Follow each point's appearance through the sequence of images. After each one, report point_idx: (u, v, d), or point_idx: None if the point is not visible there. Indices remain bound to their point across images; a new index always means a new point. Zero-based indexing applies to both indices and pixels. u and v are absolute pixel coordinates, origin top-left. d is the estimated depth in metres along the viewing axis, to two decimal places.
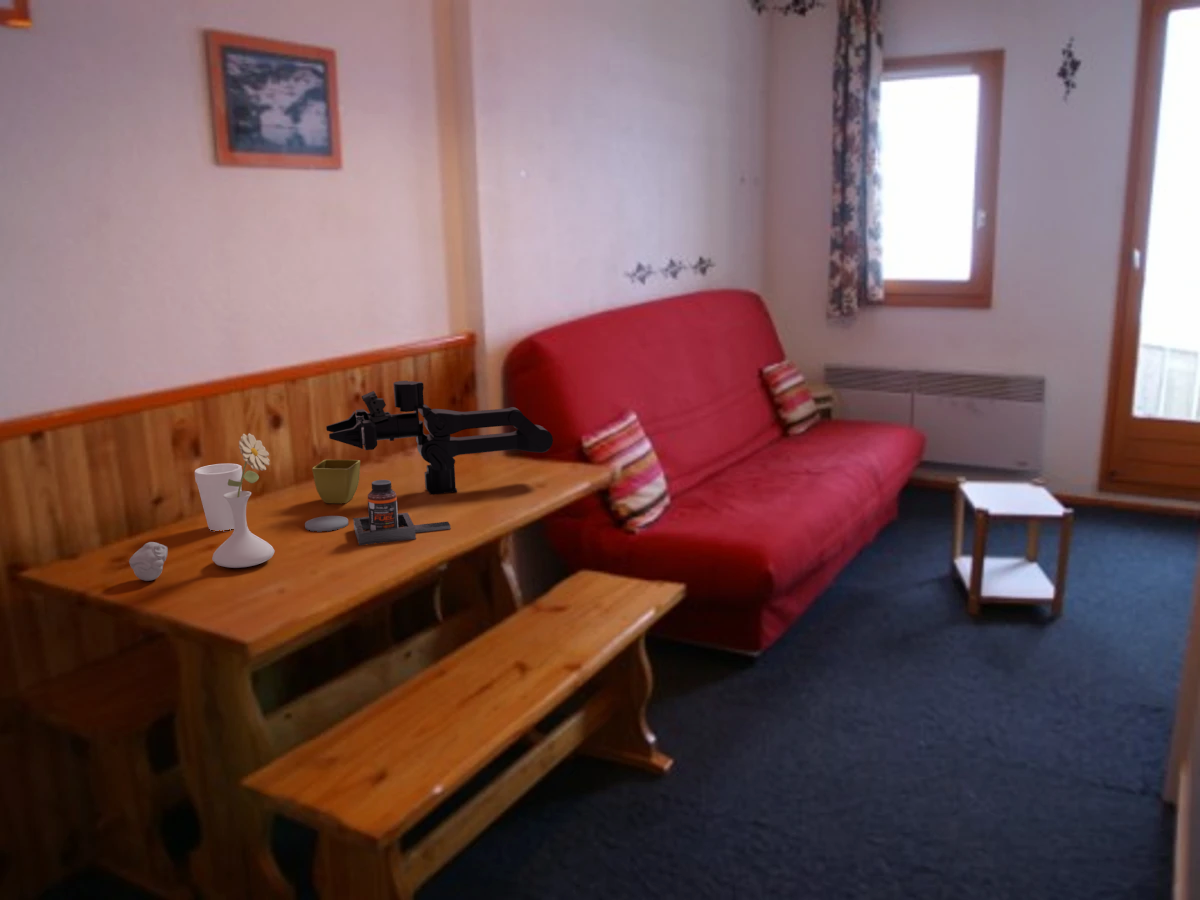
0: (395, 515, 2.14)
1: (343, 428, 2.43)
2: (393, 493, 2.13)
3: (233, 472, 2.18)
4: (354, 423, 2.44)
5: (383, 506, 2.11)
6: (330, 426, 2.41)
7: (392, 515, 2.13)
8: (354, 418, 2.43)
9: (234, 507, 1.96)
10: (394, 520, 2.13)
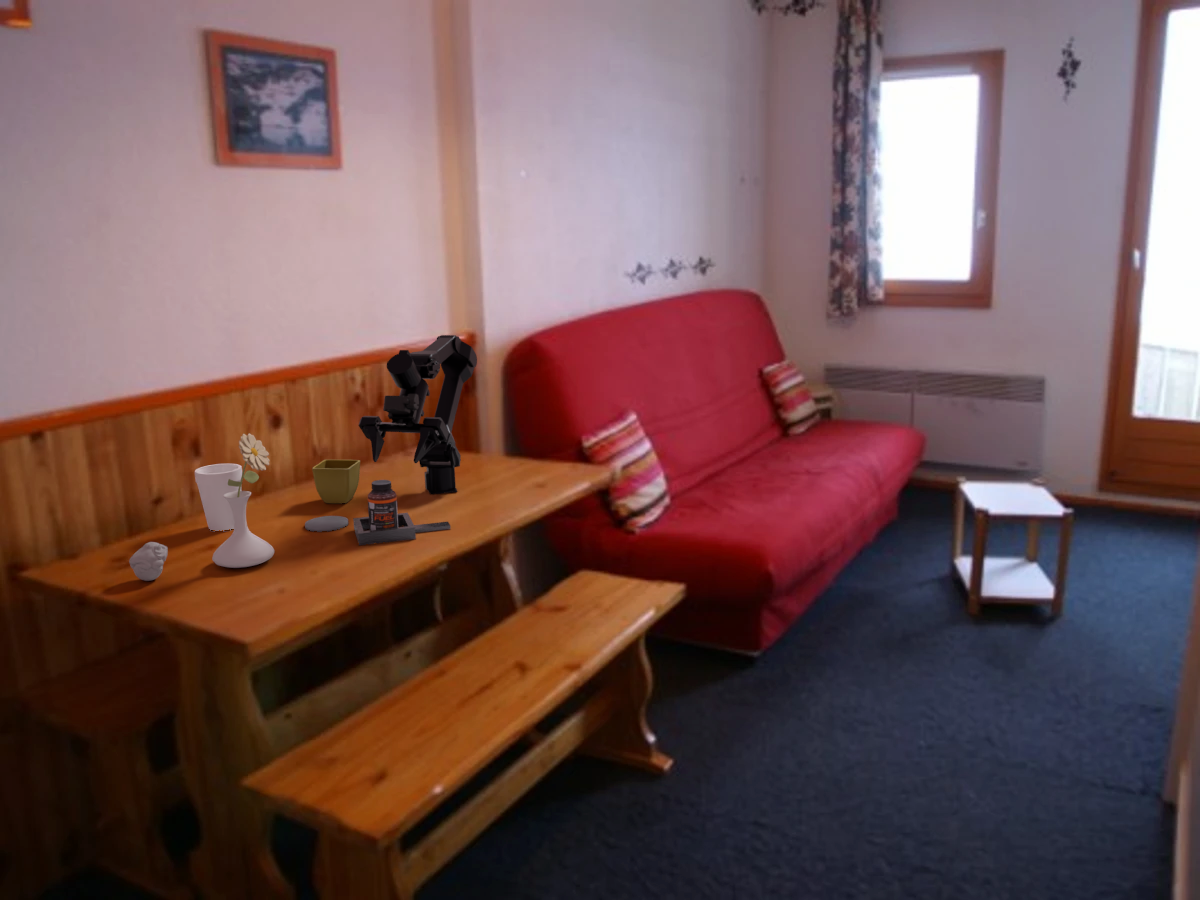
0: (395, 515, 2.14)
1: (379, 446, 2.24)
2: (393, 493, 2.13)
3: (233, 472, 2.18)
4: (378, 434, 2.24)
5: (383, 506, 2.11)
6: (375, 455, 2.21)
7: (392, 515, 2.13)
8: (377, 430, 2.23)
9: (234, 507, 1.96)
10: (394, 520, 2.13)
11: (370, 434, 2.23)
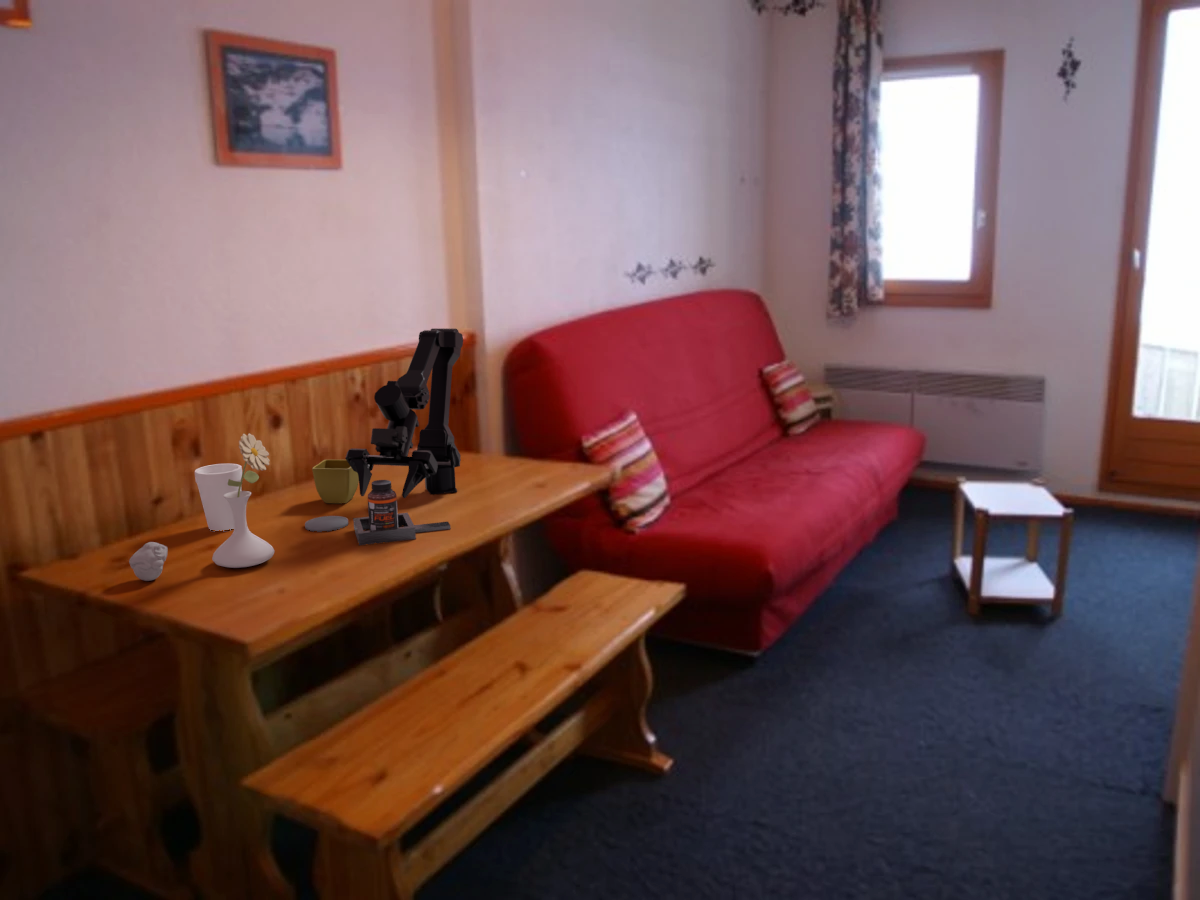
0: (395, 515, 2.14)
1: (366, 480, 2.17)
2: (393, 493, 2.13)
3: (233, 472, 2.18)
4: (366, 467, 2.18)
5: (383, 506, 2.11)
6: (362, 489, 2.15)
7: (392, 515, 2.13)
8: (364, 464, 2.17)
9: (234, 507, 1.96)
10: (394, 520, 2.13)
11: (357, 467, 2.17)
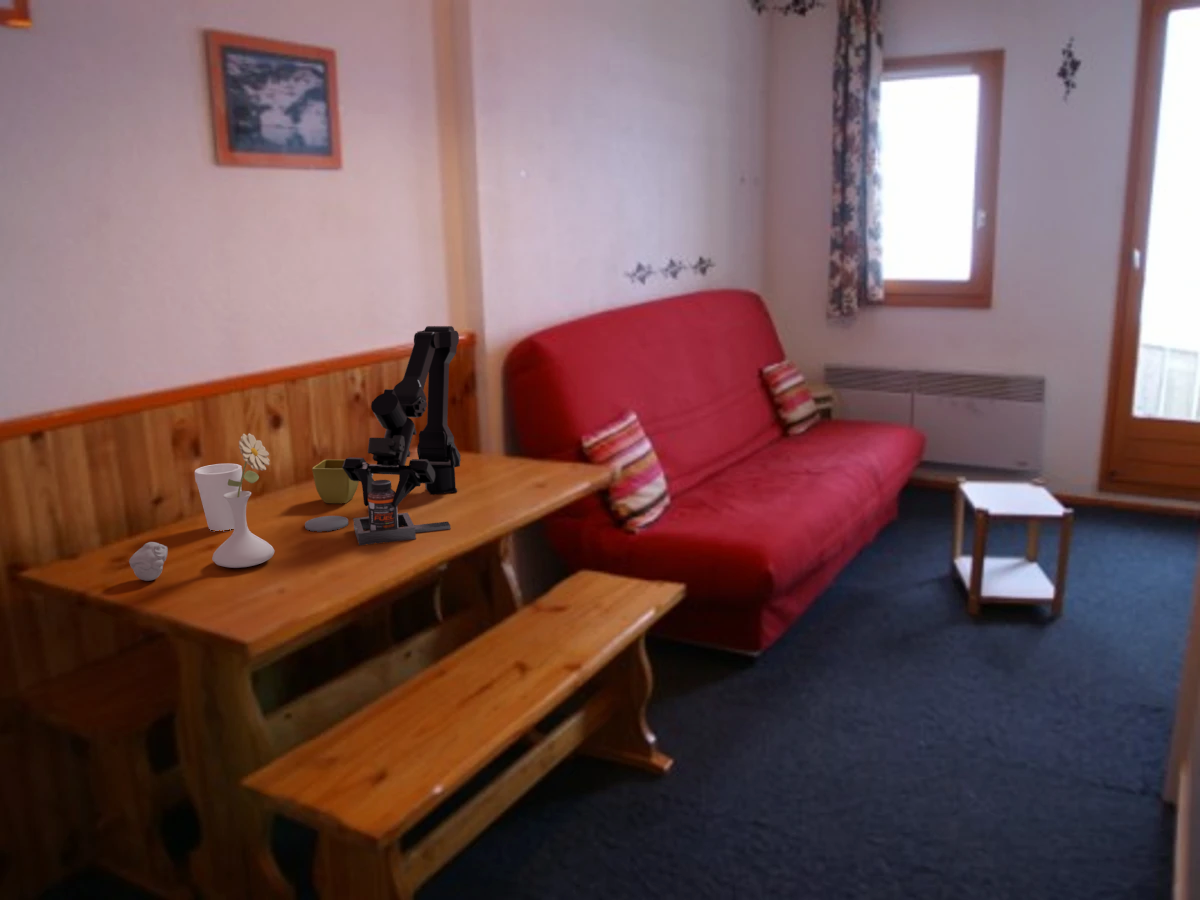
0: (395, 515, 2.14)
1: (370, 489, 2.16)
2: (393, 493, 2.13)
3: (233, 472, 2.18)
4: (370, 476, 2.16)
5: (383, 506, 2.11)
6: (366, 499, 2.14)
7: (392, 515, 2.13)
8: (368, 473, 2.15)
9: (234, 507, 1.96)
10: (394, 520, 2.13)
11: (361, 477, 2.15)
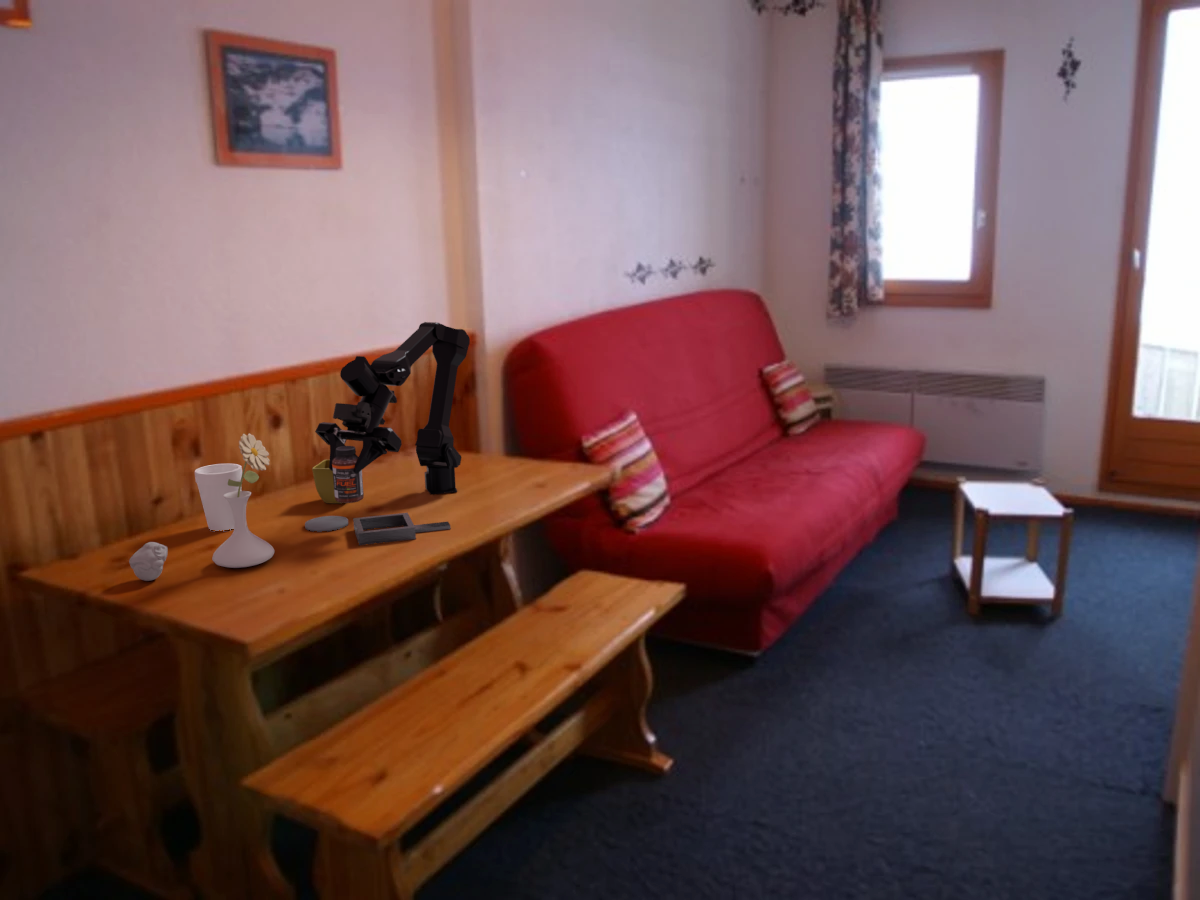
0: (358, 481, 2.15)
1: None
2: (356, 459, 2.14)
3: (233, 472, 2.18)
4: (339, 442, 2.19)
5: (344, 472, 2.13)
6: (331, 464, 2.16)
7: (353, 481, 2.14)
8: (337, 438, 2.18)
9: (234, 507, 1.96)
10: (356, 486, 2.15)
11: (330, 442, 2.18)
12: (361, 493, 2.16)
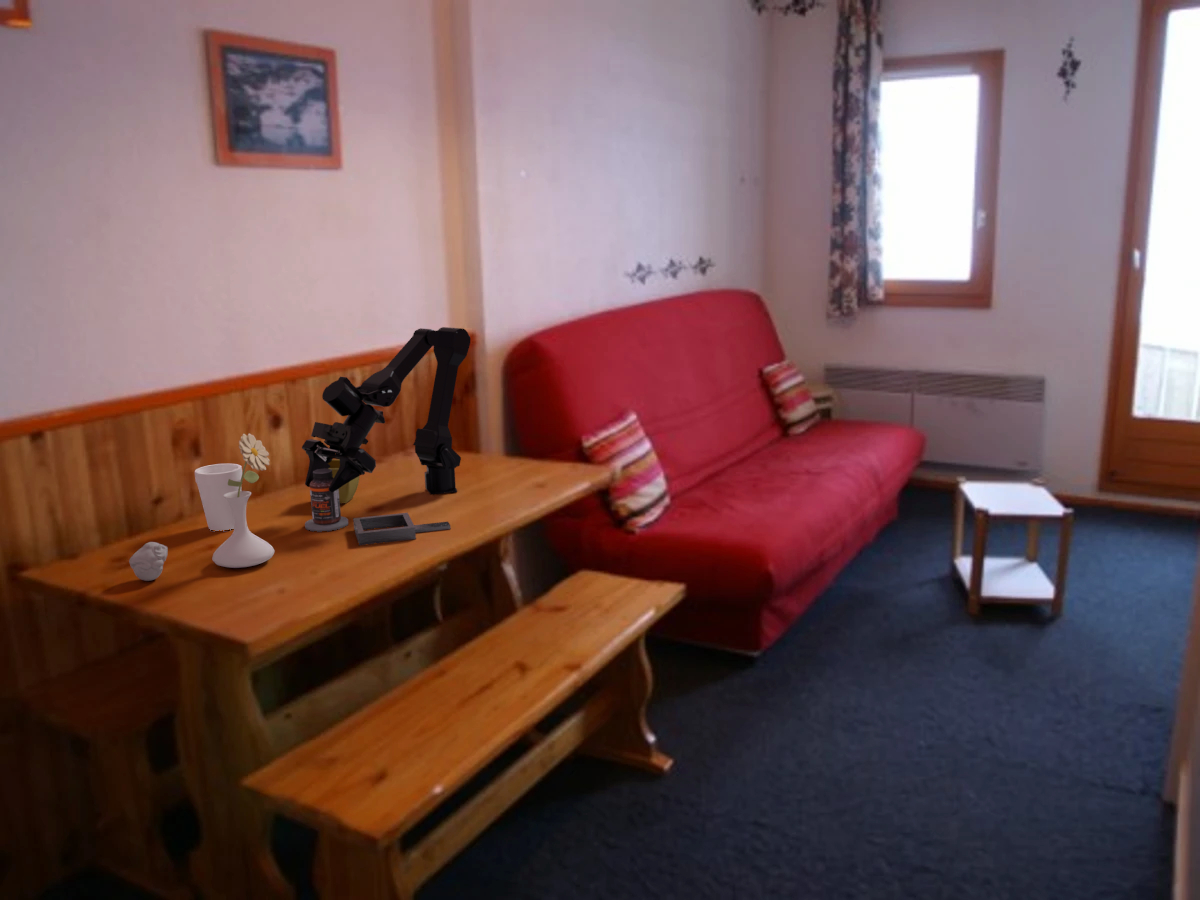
0: (332, 504, 2.19)
1: None
2: (330, 482, 2.19)
3: (233, 472, 2.18)
4: (319, 459, 2.24)
5: (318, 494, 2.18)
6: (308, 480, 2.22)
7: (327, 504, 2.19)
8: (316, 455, 2.24)
9: (234, 507, 1.96)
10: (331, 509, 2.19)
11: (310, 458, 2.24)
12: (336, 515, 2.21)
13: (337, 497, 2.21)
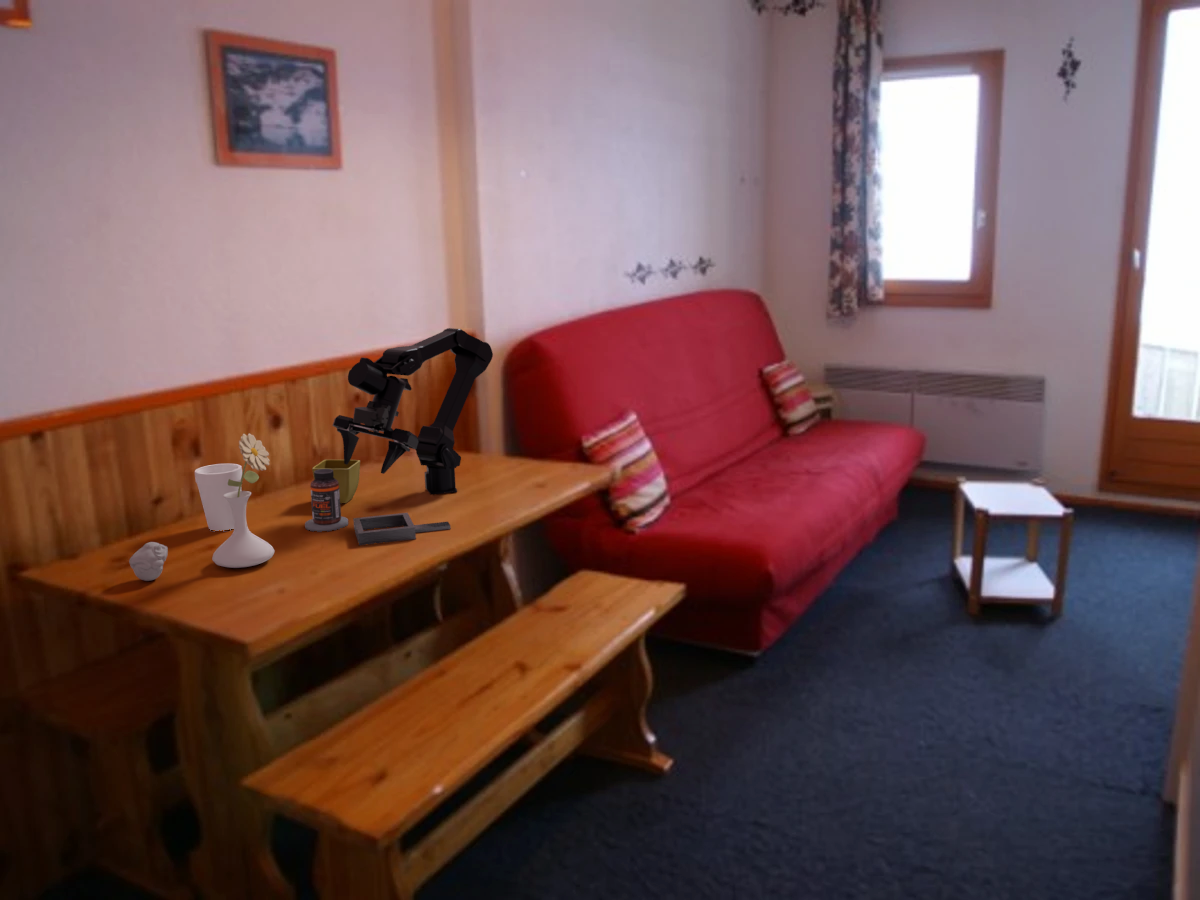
0: (332, 504, 2.19)
1: (351, 448, 2.30)
2: (331, 483, 2.19)
3: (233, 472, 2.18)
4: (351, 435, 2.30)
5: (319, 494, 2.18)
6: (346, 459, 2.28)
7: (328, 504, 2.19)
8: (349, 433, 2.29)
9: (234, 507, 1.96)
10: (331, 509, 2.19)
11: (343, 436, 2.29)
12: (336, 516, 2.21)
13: (338, 497, 2.21)
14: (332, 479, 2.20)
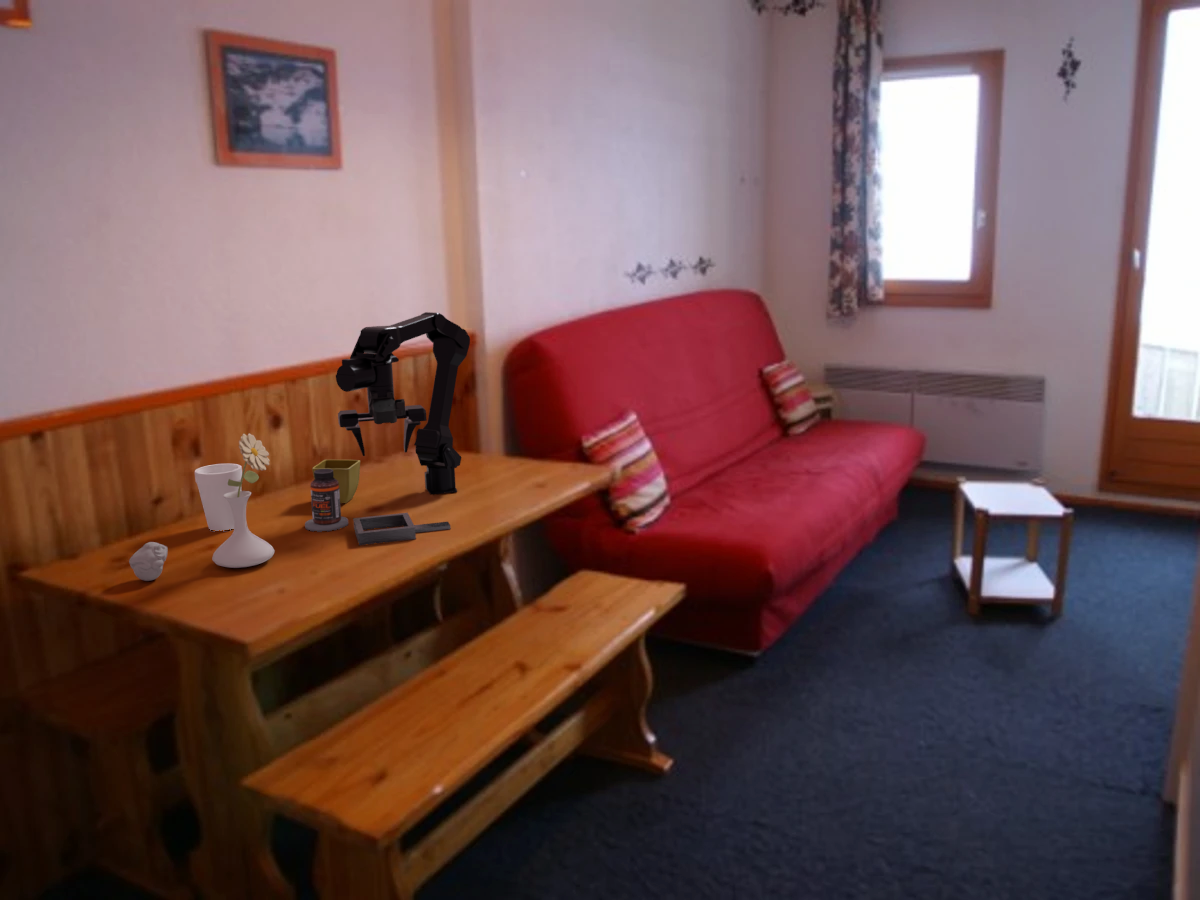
0: (332, 504, 2.19)
1: None
2: (331, 483, 2.19)
3: (233, 472, 2.18)
4: None
5: (319, 494, 2.18)
6: (363, 451, 2.28)
7: (328, 504, 2.19)
8: None
9: (234, 507, 1.96)
10: (331, 509, 2.19)
11: (354, 433, 2.25)
12: (336, 516, 2.21)
13: (338, 497, 2.21)
14: (332, 479, 2.20)
